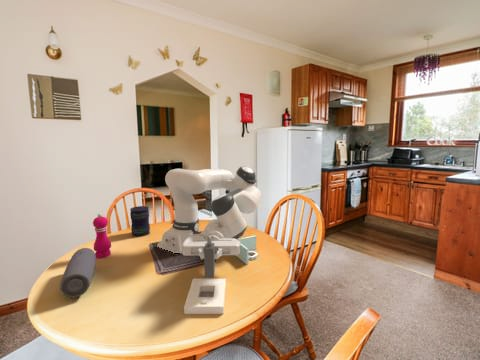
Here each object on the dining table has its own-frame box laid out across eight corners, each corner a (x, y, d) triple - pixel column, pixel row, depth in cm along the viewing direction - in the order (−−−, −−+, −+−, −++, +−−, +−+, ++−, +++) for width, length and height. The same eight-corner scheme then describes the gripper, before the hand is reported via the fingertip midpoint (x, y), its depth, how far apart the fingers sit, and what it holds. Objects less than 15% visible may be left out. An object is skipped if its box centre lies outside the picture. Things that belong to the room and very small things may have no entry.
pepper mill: (98, 252, 122) (95, 211, 118) (114, 251, 122) (111, 211, 119) (91, 259, 114) (87, 216, 111) (108, 258, 115) (104, 215, 112)
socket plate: (193, 284, 94) (192, 277, 94) (225, 284, 94) (225, 277, 94) (184, 314, 78) (184, 304, 78) (223, 313, 78) (223, 304, 78)
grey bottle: (206, 270, 87) (205, 234, 85) (214, 270, 87) (214, 234, 85) (204, 277, 83) (203, 239, 81) (213, 277, 83) (213, 239, 81)
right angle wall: (246, 265, 110) (246, 249, 109) (233, 255, 120) (233, 239, 119) (269, 259, 116) (269, 243, 115) (255, 249, 126) (255, 235, 125)
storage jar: (146, 237, 141) (144, 210, 138) (128, 236, 141) (126, 210, 138) (152, 230, 150) (151, 206, 148) (136, 230, 151) (134, 206, 148)
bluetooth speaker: (72, 271, 103) (69, 248, 102) (98, 267, 107) (96, 244, 106) (59, 304, 83) (56, 275, 81) (92, 297, 87) (89, 269, 85)
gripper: (240, 248, 98) (241, 265, 84) (186, 248, 97) (178, 266, 83) (240, 232, 97) (241, 247, 83) (186, 232, 96) (178, 248, 83)
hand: (209, 257), depth 83 cm, fingers closed on grey bottle, 3 cm apart
